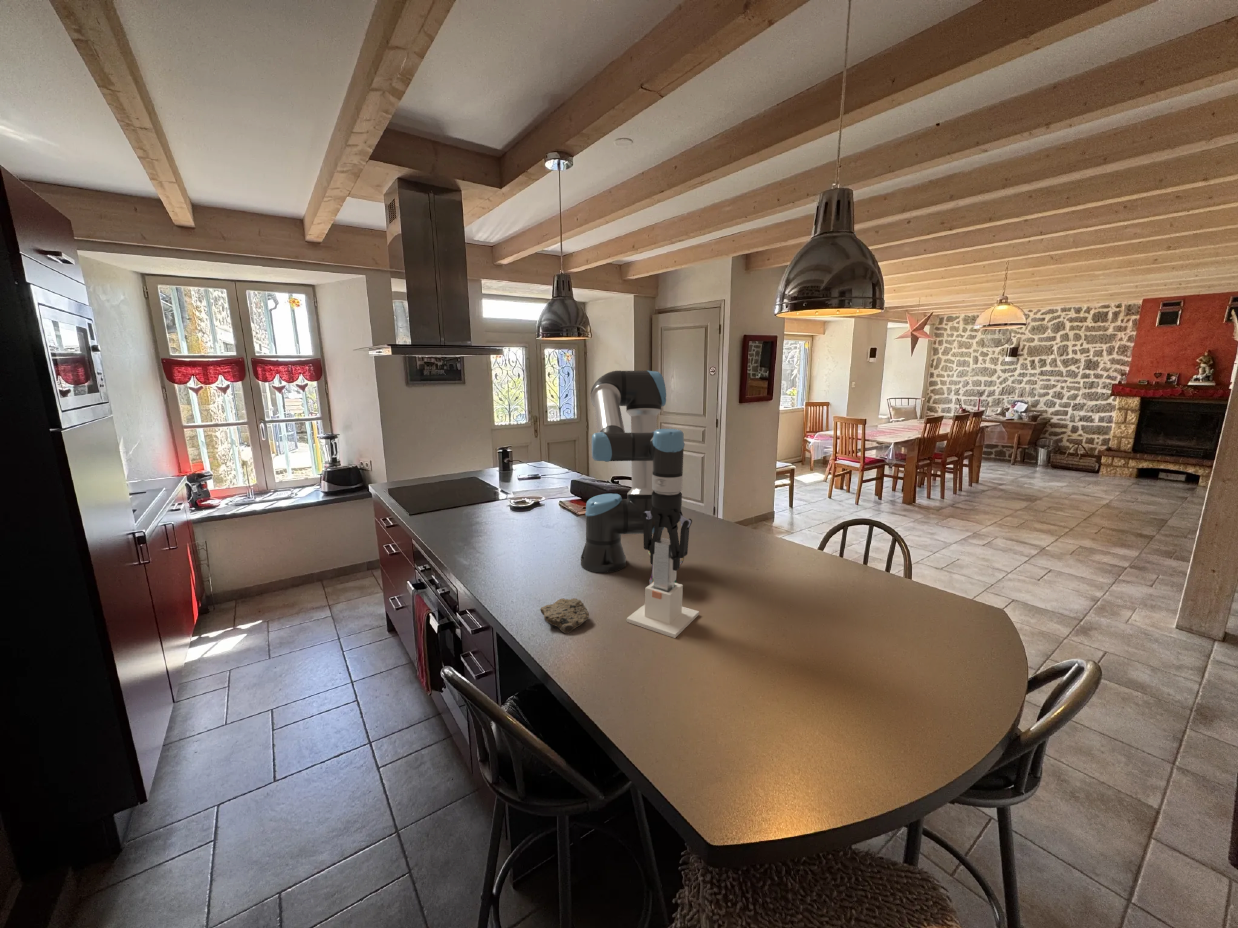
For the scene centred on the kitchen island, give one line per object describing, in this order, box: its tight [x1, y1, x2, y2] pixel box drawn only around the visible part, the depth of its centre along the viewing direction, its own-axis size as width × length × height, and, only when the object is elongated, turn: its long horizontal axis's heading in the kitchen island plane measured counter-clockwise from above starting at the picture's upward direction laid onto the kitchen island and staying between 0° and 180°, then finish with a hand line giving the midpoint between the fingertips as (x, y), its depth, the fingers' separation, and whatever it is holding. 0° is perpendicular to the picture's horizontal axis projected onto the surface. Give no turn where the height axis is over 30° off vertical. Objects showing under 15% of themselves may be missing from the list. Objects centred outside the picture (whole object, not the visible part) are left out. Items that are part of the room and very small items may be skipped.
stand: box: [626, 582, 700, 639], centre depth 128 cm, size 14×14×9 cm
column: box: [654, 537, 675, 593], centre depth 127 cm, size 4×4×20 cm
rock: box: [539, 597, 590, 634], centre depth 127 cm, size 11×12×4 cm
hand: (664, 578), depth 127 cm, fingers closed on column, 4 cm apart
